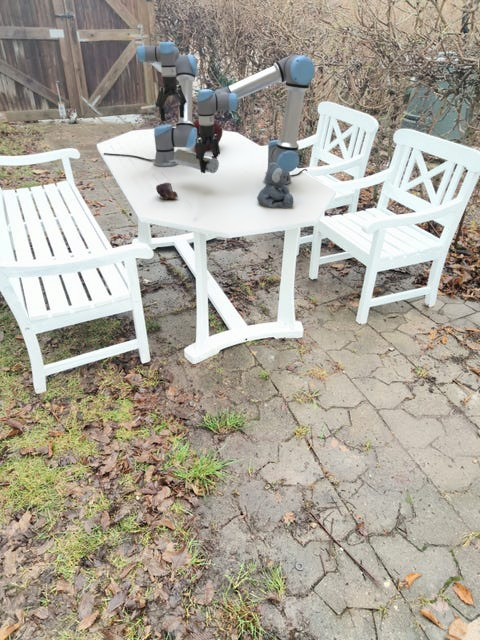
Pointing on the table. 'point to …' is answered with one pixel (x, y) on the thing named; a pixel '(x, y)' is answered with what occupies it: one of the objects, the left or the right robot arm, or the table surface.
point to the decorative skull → (217, 131)
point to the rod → (195, 161)
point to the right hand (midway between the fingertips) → (208, 170)
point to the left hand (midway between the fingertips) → (172, 119)
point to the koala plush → (275, 189)
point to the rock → (166, 191)
